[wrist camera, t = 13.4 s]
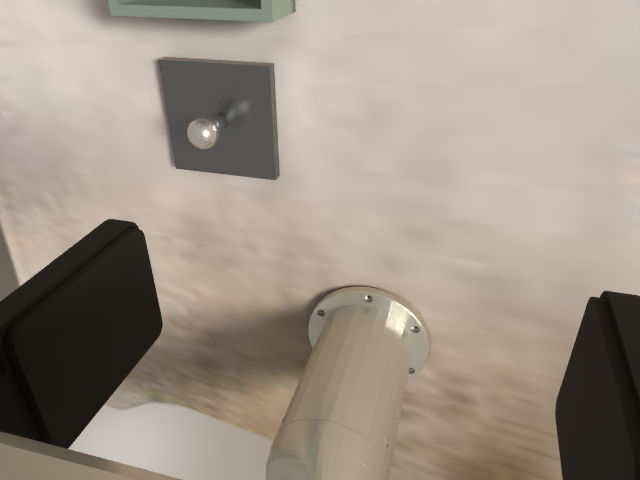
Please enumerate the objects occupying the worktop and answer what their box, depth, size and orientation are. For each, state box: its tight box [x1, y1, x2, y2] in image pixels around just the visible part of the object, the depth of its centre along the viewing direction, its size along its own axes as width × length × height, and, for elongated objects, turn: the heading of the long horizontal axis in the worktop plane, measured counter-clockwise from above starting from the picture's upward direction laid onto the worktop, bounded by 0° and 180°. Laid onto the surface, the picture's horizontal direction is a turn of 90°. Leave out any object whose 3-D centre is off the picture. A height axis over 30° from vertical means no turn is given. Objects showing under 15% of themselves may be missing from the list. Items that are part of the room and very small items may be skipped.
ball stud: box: [159, 57, 280, 180], centre depth 45 cm, size 10×10×5 cm
